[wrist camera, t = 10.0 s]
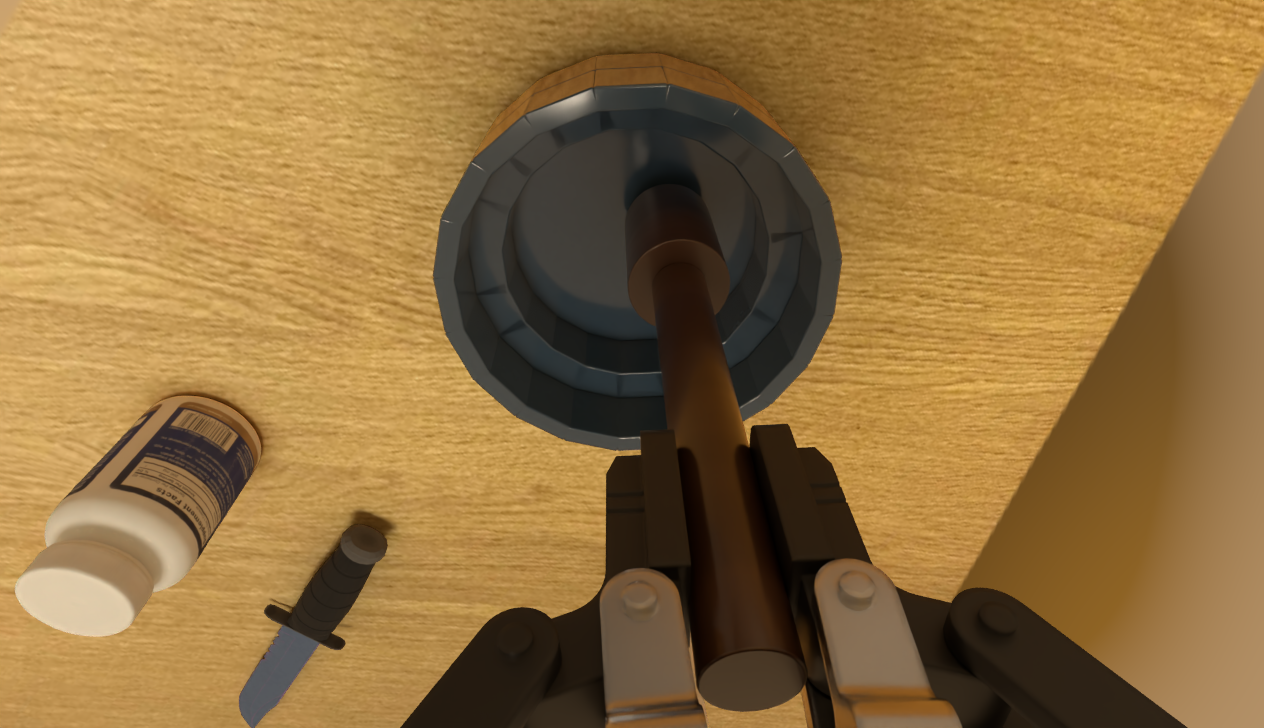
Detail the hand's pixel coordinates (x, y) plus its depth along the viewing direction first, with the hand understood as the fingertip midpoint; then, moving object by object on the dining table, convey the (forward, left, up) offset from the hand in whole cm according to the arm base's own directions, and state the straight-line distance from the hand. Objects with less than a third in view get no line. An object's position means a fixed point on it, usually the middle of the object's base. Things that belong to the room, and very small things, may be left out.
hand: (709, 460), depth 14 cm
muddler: (0, 0, -13) cm, 13 cm away
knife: (+26, -23, -16) cm, 38 cm away
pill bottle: (+11, -22, -16) cm, 29 cm away
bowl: (+1, -1, -15) cm, 15 cm away
